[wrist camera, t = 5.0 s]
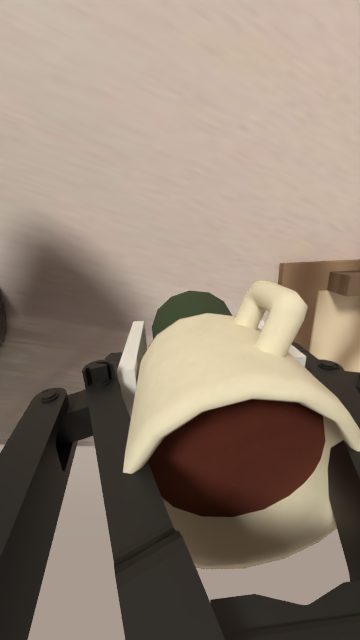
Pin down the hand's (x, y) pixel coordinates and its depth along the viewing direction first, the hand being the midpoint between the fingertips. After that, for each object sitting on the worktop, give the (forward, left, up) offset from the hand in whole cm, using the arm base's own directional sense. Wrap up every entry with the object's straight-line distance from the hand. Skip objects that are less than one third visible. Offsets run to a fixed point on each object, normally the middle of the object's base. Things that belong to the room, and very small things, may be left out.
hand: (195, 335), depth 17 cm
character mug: (0, 0, -2) cm, 2 cm away
